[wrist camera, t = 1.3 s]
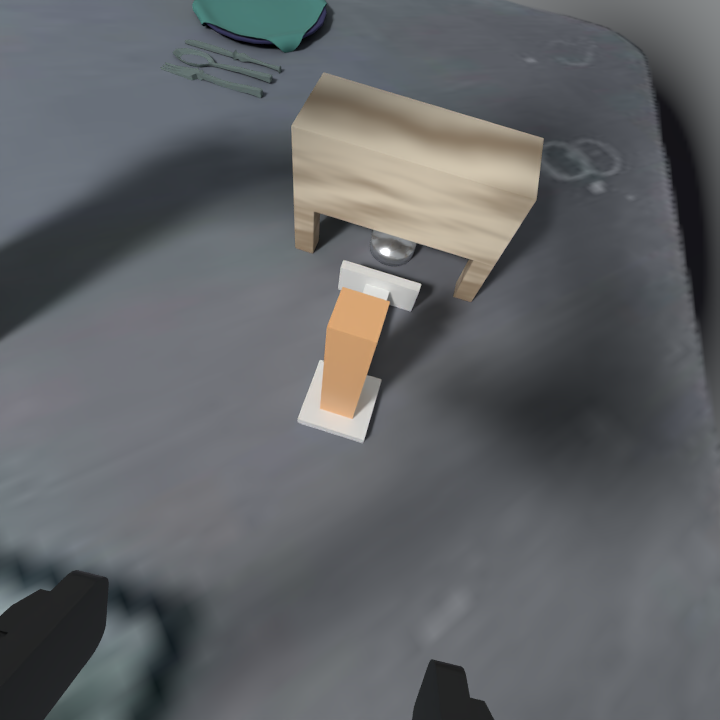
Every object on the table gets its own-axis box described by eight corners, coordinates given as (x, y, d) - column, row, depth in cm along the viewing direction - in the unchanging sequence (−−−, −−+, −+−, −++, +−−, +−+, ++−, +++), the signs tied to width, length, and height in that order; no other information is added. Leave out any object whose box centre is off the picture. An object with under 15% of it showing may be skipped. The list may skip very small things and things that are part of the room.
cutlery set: (342, 7, 68) (343, -10, 66) (273, 110, 55) (271, 93, 53) (232, -25, 69) (229, -43, 67) (137, 69, 56) (131, 50, 54)
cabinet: (470, 302, 44) (536, 200, 31) (295, 247, 44) (291, 125, 32) (483, 239, 48) (544, 128, 36) (323, 190, 49) (328, 63, 36)
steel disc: (360, 249, 46) (362, 237, 44) (388, 226, 48) (391, 214, 46) (394, 275, 45) (397, 264, 43) (421, 251, 47) (425, 239, 45)
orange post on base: (373, 446, 36) (413, 378, 22) (287, 419, 36) (275, 335, 22) (412, 304, 43) (461, 188, 30) (341, 281, 43) (356, 156, 30)
